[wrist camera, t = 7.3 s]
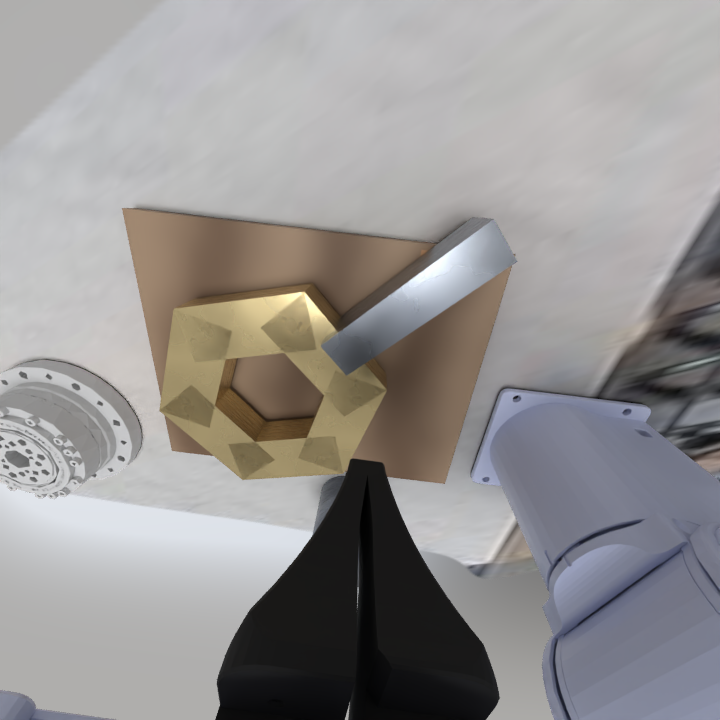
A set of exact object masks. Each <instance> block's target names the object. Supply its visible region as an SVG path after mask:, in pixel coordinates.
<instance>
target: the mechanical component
mask: <svg viewBox="0 0 720 720" xmlns="http://www.w3.org/2000/svg"><path fill="white" fill-rule="evenodd" d="M141 440H142V435H141V429H140V425H139V422H138V419H137V417H136V415H135V414H134V412H133V411H132V409H131V408H130V406H129V405H128V403H127V401H126V400H125V399H124V398H123V397H122V396H121V395H120V394H119V393H118V392H117V391H116V390H114V389H113V388H112V387H111V386H110V385H109V384H107V383H106V382H104V381H103V380H102V379H100V378H99V377H97V376H95V375H93V374H91V373H90V372H88V371H86V370H84V369H82V368H79V367H76V366H73V365H70V364H68V363H63V362H57V361H50V360H44V359H43V360H37V361H32V362H26V363H22V364H20V365H18V366H16V367H13V368H11V369H9V370H6V371H4V372H2V373H0V481H1V482H3V483H5V484H7V485H8V486H7V488H8V489H9V490H11V491H15V490H16V489H20V490H23V491H26V492H29V493H35V496H36V497H37V498H40V499H42V498H44V497H45V496H46V495H47V496H48V497H49V498H52V499H55V498H57V497H58V496H59V495H60V496H62V497H66V496H67V495H68V494H69V493H70V492H74V491H75V490H76V489H77V488H79V487H80V486H81V485H82V484H83V483H84V482H85V481H87V480H102V479H105V478H108V477H111V476H114V475H116V474H118V473H119V472H120V471H122V470H123V469H124V468H126V467H127V466H128V465H129V464H130V463H131V462H132V460H133V459H134V458H135V457H136V455H137V453H138V451H139V450H140V448H141Z"/></svg>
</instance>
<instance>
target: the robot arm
mask: <svg viewBox="0 0 720 720" xmlns="http://www.w3.org/2000/svg"><path fill="white" fill-rule="evenodd" d="M517 395H519V396H518V398H516V399H513V397H514V396H517ZM625 409H626V410H625ZM624 410H625V411H624ZM623 411H624V412H623ZM650 414H651V409H650V408H648V407H647V406H646V405H643V404H636V403H627V402H619V401H610V400H602V399H594V398H585V397H577V396H568V395H560V394H552V393H543V392H535V391H527V390H518V389H510V388H509V389H504V390H502V391H501V392H500V394H499V397H498V399H497V402H496V405H495V408H494V411H493V413H492V416H491V419H490V422H489V425H488V428H487V430H486V433H485V436H484V439H483V442H482V445H481V447H480V450H479V453H478V456H477V459H476V462H475V464H474V467H473V470H472V473H471V478H472V480H473V481H474V482H475V483H482V484H490V485H498V486H502V488H503V490H504V492H505V495H506V497H507V499H508V501H509V504H510V506H511V508H512V510H513V513H514V515H515V517H516V519H517V522H518V524H519V526H520V528H521V531H522V533H523V535H524V537H525V540H526V542H527V544H528V546H529V549H530V551H531V553H532V555H533V558H534V560H535V562H536V564H537V567H538V569H539V571H540V573H541V576H542V578H543V580H544V582H545V585H546V587H547V589H548V591H549V599H548V601H547V602H546V603H545V604H544V605H543V610H544V613H545V615H546V618H547V620H548V622H549V625H550V627H551V630H552V632H553V634H554V635H553V636H552V637H551V638H550V639H549V641H548V642H547V644H546V646H545V649H544V653H543V662H542V669H543V680H544V685H545V690H546V695H547V699H548V702H549V705H550V709H551V712H552V715H553V717H554V720H720V481H718V480H717V479H716V478H715V477H713V476H712V475H711V474H710V473H708V472H707V471H706V470H705V469H703V468H702V467H701V466H699V465H698V464H697V463H696V462H694V461H693V460H692V459H691V458H689V457H688V456H687V455H686V454H684V453H683V452H682V451H681V450H679V449H678V448H677V447H676V446H674V445H673V444H672V443H671V442H669V441H668V440H667V439H666V438H664V437H663V436H662V435H661V434H659V433H658V432H657V431H656V430H654V429H653V428H652V427H651V426H649V425H648V424H647V423H646V420H647V419H648V417H649V416H650ZM484 477H486V478H484ZM358 551H359V594H358V608H357V586H358ZM217 687H218V694H219V700H220V707H219V710H218V713H217V716H216V719H215V720H345V717H346V713H347V709H348V706H349V702H350V709H349V719H348V720H486V719H487V717H488V716H489V715H490V713H491V712H492V711H493V709H494V708H495V707H496V705H497V703H498V700H499V691H498V687H497V682H496V679H495V676H494V672H493V669H492V666H491V663H490V660H489V658H488V655H487V652H486V650H485V647H484V645H483V643H482V642H481V641H480V640H479V638H478V637H477V636H476V635H475V633H474V632H473V631H472V630H471V628H470V627H469V626H468V624H467V623H466V622H465V621H464V619H463V618H462V617H461V615H460V614H459V613H458V611H457V610H456V608H455V607H454V606H453V604H452V603H451V602H450V600H449V599H448V598H447V596H446V595H445V593H444V591H443V590H442V588H441V587H440V585H439V584H438V582H437V581H436V579H435V578H434V576H433V575H432V573H431V572H430V570H429V569H428V567H427V565H426V563H425V561H424V560H423V558H422V556H421V555H420V553H419V551H418V549H417V547H416V545H415V544H414V542H413V540H412V538H411V536H410V534H409V532H408V530H407V527H406V525H405V523H404V521H403V519H402V516H401V514H400V512H399V509H398V507H397V504H396V502H395V499H394V496H393V494H392V491H391V488H390V485H389V482H388V478H387V475H386V471H385V466H384V464H383V463H382V462H376V461H369V460H362V459H355V458H352V459H351V460H350V461H349V466H348V470H347V473H346V476H345V478H344V481H343V483H342V485H341V487H340V489H339V492H338V494H337V496H336V498H335V500H334V502H333V503H332V505H331V507H330V509H329V510H328V512H327V514H326V516H325V517H324V519H323V521H322V522H321V524H320V525H319V527H318V528H317V530H316V531H315V533H314V534H313V536H312V537H311V539H310V540H309V542H308V543H307V544H306V546H305V547H304V548H303V550H302V551H301V553H300V554H299V555H298V557H297V558H296V559H295V560H294V561H293V563H292V564H291V565H290V566H289V567H288V569H287V570H286V571H285V572H284V573H283V574H282V576H281V577H280V578H279V579H278V581H277V582H276V583H275V584H274V585H273V586H272V587H271V588H270V589H269V590H268V591H267V592H266V593H265V594H264V595H263V597H262V598H261V599H260V600H259V601H258V602H257V603H256V604H255V605H254V606H253V607H252V608H251V609H250V611H249V612H248V614H247V615H246V617H245V619H244V620H243V622H242V624H241V625H240V627H239V629H238V631H237V633H236V634H235V636H234V638H233V640H232V642H231V644H230V646H229V648H228V650H227V653H226V655H225V658H224V661H223V664H222V667H221V670H220V672H219V675H218V679H217ZM0 720H114V719H107V718H100V717H92V716H85V715H78V714H71V713H64V712H57V711H49V710H42V709H36V706H35V703H34V702H33V700H32V699H31V698H29V697H28V696H25V695H23V694H20V693H16V692H10V691H3V690H0Z"/></svg>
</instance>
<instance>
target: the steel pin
mask: <svg viewBox="0 0 720 720" xmlns="http://www.w3.org/2000/svg"><path fill="white" fill-rule="evenodd" d="M344 478H345V476H339V477H335V478H332V479H330V480H329V481H327V482H326V483H325V484H324V486H323V488H322V492H321V496H320V501H319V506H318V511H317V516H316V521H315V526H314V531H313V534H314V533H315V531H316V530H317V528H318V527H319V525H320V524H321V522H322V521H323V519H324V517H325V516H326V514H327V512H328V510H329V509H330V507H331V505H332V503H333V502H334V500H335V498H336V496H337V494H338V492H339V489H340V487H341V485H342V483H343V481H344ZM312 536H313V535H312ZM357 587H359V551H358V586H357Z"/></svg>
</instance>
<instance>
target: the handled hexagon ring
mask: <svg viewBox="0 0 720 720" xmlns="http://www.w3.org/2000/svg"><path fill="white" fill-rule="evenodd" d="M516 262H517V260H516V258H515V256H514V255H513V253H512V251H511V249H510V247H509V246H508V244H507V242H506V240H505V238H504V236H503V235H502V233H501V231H500V229H499V227H498V226H497V224H496V222H495V220H494V219H487V218H475V217H473V218H471V219H470V220H469V221H467V222H466V223H465V224H463V225H462V226H461V227H459V228H458V229H457V230H455V231H454V232H453V233H451V234H450V235H449V236H447V237H446V238H445V239H443V240H442V241H441V242H439V243H438V244H437V245H435V246H434V247H433V248H431V249H430V250H429V251H427V252H426V253H425V254H423V255H422V256H421V257H419V258H418V259H417V260H415V261H414V262H413V263H412V264H410V265H409V266H408V267H406V268H405V269H404V270H402V271H401V272H400V273H398V274H397V275H396V276H394V277H393V278H392V279H390V280H389V281H388V282H386V283H385V284H384V285H382V286H381V287H380V288H378V289H377V290H376V291H374V292H373V293H372V294H370V295H369V296H368V297H366V298H365V299H364V300H362V301H361V302H360V303H358V304H357V305H356V306H354V307H353V308H352V309H350V310H349V311H348V312H346V313H345V314H344V315H342V316H341V317H340V316H339V315H338V314H337V312H336V311H335V310H334V309H333V308H332V306H331V305H330V304H329V303H328V302H327V300H326V299H325V298H324V297H323V295H322V294H321V293H320V292H319V291H318V289H317V288H316V287H315V286H314V285H313V283H309V284H301V285H294V286H286V287H279V288H271V289H263V290H256V291H248V292H240V293H233V294H225V295H218V296H210V297H202V298H195V299H193V300H191V301H189V302H187V303H184V304H182V305H180V306H178V307H176V308H174V310H173V317H172V324H171V331H170V339H169V346H168V353H167V360H166V367H165V375H164V382H163V389H162V396H161V403H160V412H162V413H163V414H164V415H165V416H166V417H168V418H169V419H170V420H171V421H172V422H174V423H175V424H176V425H177V426H178V427H180V428H181V429H182V430H183V431H184V432H186V433H187V434H188V435H189V436H191V437H192V438H193V439H194V440H195V441H197V442H198V443H199V444H200V445H201V446H203V447H204V448H205V449H206V450H207V451H209V452H210V453H211V454H212V455H213V456H215V457H216V458H217V459H218V460H219V461H221V462H222V463H223V464H224V465H225V466H227V467H228V468H229V469H230V470H231V471H233V472H234V473H235V474H236V475H238V476H239V477H240V478H241V479H242V480H248V479H264V478H281V477H297V476H313V475H329V474H343V473H344V471H345V470H346V468H347V466H348V464H349V461H350V460H351V458H352V456H353V454H354V452H355V450H356V449H357V447H358V445H359V443H360V441H361V439H362V437H363V435H364V433H365V431H366V429H367V428H368V426H369V424H370V422H371V420H372V418H373V416H374V414H375V412H376V410H377V408H378V407H379V405H380V403H381V401H382V399H383V397H384V395H385V393H386V391H387V377H386V372H385V371H384V369H383V368H382V367H381V366H380V365H379V363H378V362H377V361H376V360H375V359H374V357H376V356H377V355H379V354H380V353H382V352H383V351H385V350H386V349H388V348H389V347H391V346H392V345H393V344H395V343H396V342H398V341H399V340H401V339H402V338H404V337H405V336H407V335H408V334H410V333H411V332H413V331H414V330H416V329H417V328H419V327H420V326H422V325H423V324H425V323H426V322H428V321H429V320H431V319H432V318H434V317H435V316H437V315H438V314H440V313H441V312H443V311H444V310H446V309H447V308H449V307H450V306H452V305H453V304H455V303H456V302H458V301H459V300H461V299H462V298H464V297H465V296H467V295H468V294H470V293H471V292H472V291H474V290H475V289H477V288H478V287H480V286H481V285H483V284H484V283H486V282H487V281H489V280H490V279H492V278H493V277H495V276H496V275H498V274H499V273H501V272H502V271H504V270H505V269H507V268H508V267H510V266H511V265H513V264H514V263H516ZM280 353H285V354H286V355H287V357H288V358H289V359H290V360H291V361H292V362H293V363H294V364H295V365H296V366H297V367H298V368H299V369H300V370H301V371H302V372H303V374H304V375H305V376H306V377H307V378H308V379H309V380H310V381H311V382H312V383H313V384H314V385H315V386H316V387H317V388H318V389H319V391H320V392H321V393H322V394H323V396H322V398H321V400H320V403H319V405H318V407H317V410H316V412H315V415H314V417H313V418H306V419H294V420H282V421H270V422H266V421H264V420H263V419H262V418H261V417H260V416H259V415H258V414H257V413H256V412H255V411H254V410H253V409H252V408H251V407H250V406H248V405H247V404H246V403H245V402H244V401H243V400H242V399H241V398H240V397H239V396H238V395H237V394H236V393H235V392H234V391H232V390H231V389H230V385H231V381H232V377H233V373H234V369H235V365H236V361H237V358H242V357H252V356H261V355H270V354H280Z"/></svg>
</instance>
